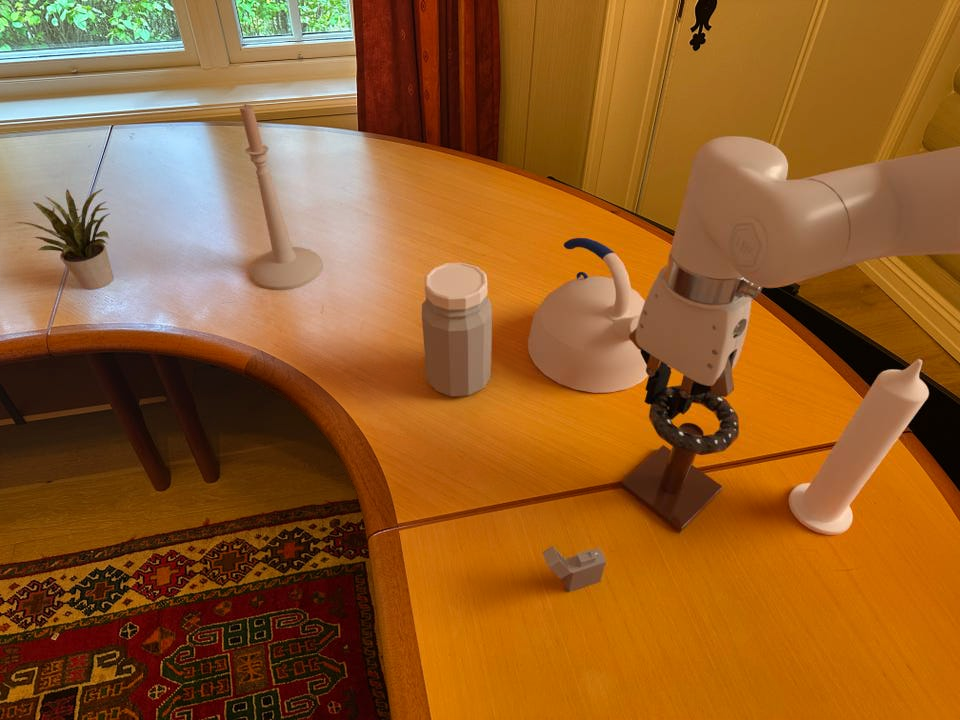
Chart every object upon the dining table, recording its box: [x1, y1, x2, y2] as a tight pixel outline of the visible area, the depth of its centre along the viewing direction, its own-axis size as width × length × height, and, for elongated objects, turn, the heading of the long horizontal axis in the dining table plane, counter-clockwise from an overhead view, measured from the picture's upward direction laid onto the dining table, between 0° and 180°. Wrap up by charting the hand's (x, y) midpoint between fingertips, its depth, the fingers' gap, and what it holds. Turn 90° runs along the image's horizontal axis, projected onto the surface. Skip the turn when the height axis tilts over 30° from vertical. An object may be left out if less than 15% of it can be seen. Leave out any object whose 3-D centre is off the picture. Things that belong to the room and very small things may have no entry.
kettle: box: [527, 237, 649, 394], centre depth 90 cm, size 20×21×18 cm
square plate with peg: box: [619, 422, 724, 534], centre depth 73 cm, size 9×9×11 cm
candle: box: [788, 358, 930, 536], centre depth 66 cm, size 7×7×25 cm
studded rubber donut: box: [648, 384, 740, 456], centre depth 68 cm, size 10×10×2 cm
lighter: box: [541, 545, 607, 593], centre depth 64 cm, size 7×2×8 cm, turn 109°
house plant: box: [16, 188, 115, 290], centre depth 104 cm, size 14×14×16 cm
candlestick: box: [239, 103, 324, 291], centre depth 102 cm, size 13×13×30 cm
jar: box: [421, 262, 493, 398], centre depth 85 cm, size 10×10×18 cm
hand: (665, 404), depth 70 cm, fingers closed on studded rubber donut, 2 cm apart
